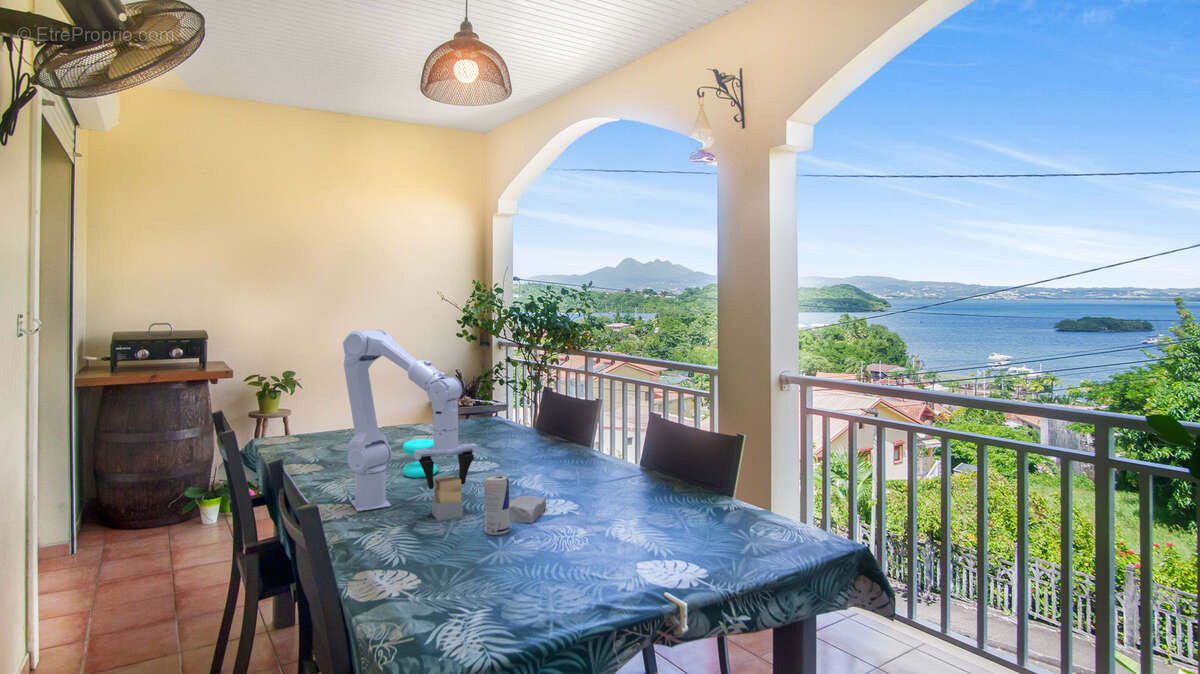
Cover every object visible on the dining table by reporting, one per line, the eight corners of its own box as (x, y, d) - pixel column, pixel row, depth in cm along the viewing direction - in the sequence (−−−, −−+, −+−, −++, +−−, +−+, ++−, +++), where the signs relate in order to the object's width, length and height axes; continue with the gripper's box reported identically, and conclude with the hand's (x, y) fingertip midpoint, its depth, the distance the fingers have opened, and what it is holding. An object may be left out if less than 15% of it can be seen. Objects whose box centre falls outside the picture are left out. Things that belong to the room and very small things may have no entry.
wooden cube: (434, 498, 153) (434, 478, 153) (454, 495, 156) (454, 475, 156) (440, 504, 149) (440, 482, 149) (461, 500, 151) (461, 479, 151)
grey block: (432, 514, 154) (432, 498, 154) (457, 511, 156) (456, 495, 156) (437, 521, 148) (437, 504, 148) (463, 518, 151) (462, 501, 151)
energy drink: (513, 528, 142) (513, 475, 142) (502, 536, 137) (501, 481, 137) (492, 526, 144) (491, 473, 144) (480, 534, 139) (479, 479, 139)
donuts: (408, 438, 197) (440, 438, 196) (409, 470, 197) (441, 470, 197) (397, 445, 187) (431, 444, 186) (398, 479, 187) (432, 478, 187)
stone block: (495, 530, 147) (536, 524, 145) (491, 510, 147) (532, 503, 146) (511, 516, 159) (549, 510, 157) (508, 497, 159) (546, 491, 157)
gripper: (419, 434, 144) (420, 494, 145) (480, 428, 152) (481, 485, 152) (411, 429, 151) (412, 486, 151) (470, 424, 158) (471, 478, 158)
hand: (446, 485), depth 152 cm, fingers open, 7 cm apart
